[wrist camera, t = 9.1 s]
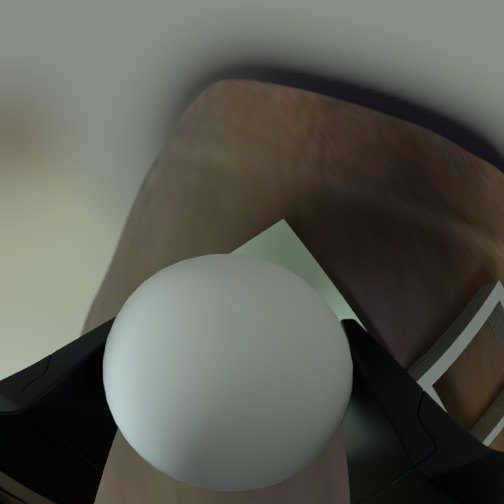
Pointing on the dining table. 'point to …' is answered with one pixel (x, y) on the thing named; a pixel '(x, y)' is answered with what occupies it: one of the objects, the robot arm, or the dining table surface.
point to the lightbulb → (227, 372)
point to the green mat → (296, 263)
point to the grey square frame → (455, 341)
